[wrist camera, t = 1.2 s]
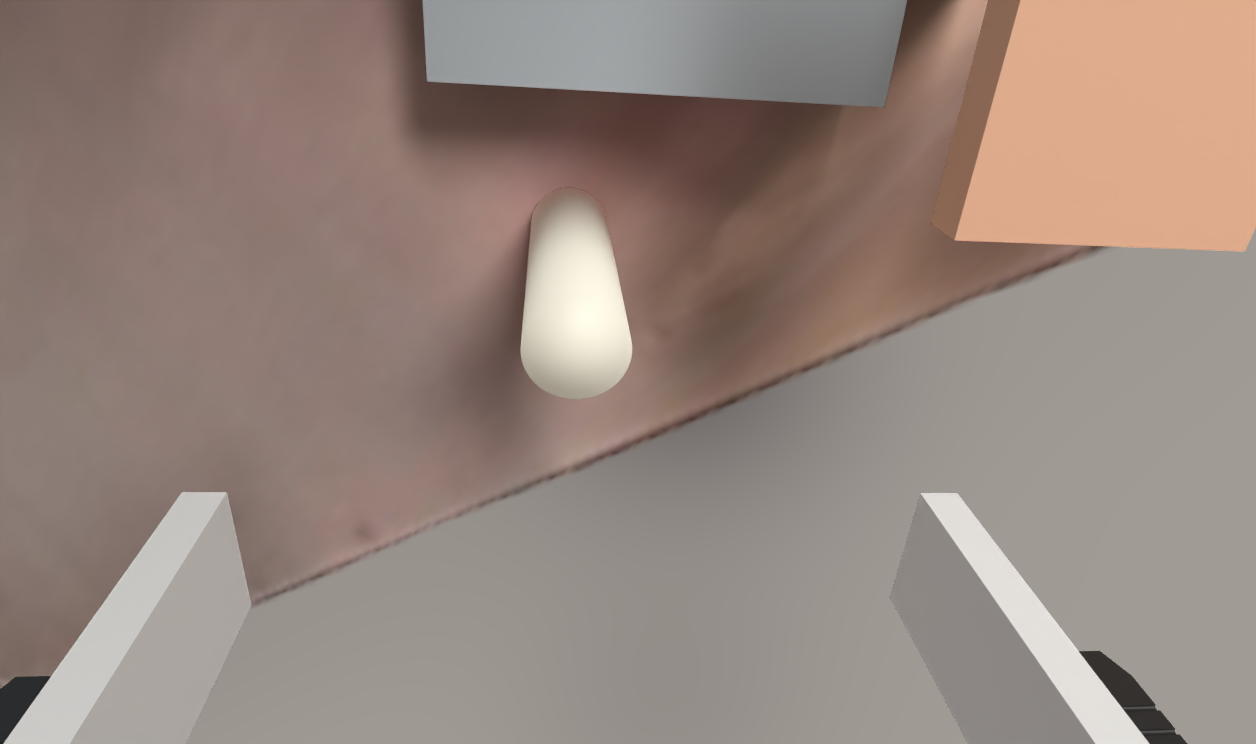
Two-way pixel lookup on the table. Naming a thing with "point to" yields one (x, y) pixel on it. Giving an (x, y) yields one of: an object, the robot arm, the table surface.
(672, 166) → the table surface
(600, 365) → the peg
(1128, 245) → the wooden topped pedestal
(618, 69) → the socket block
